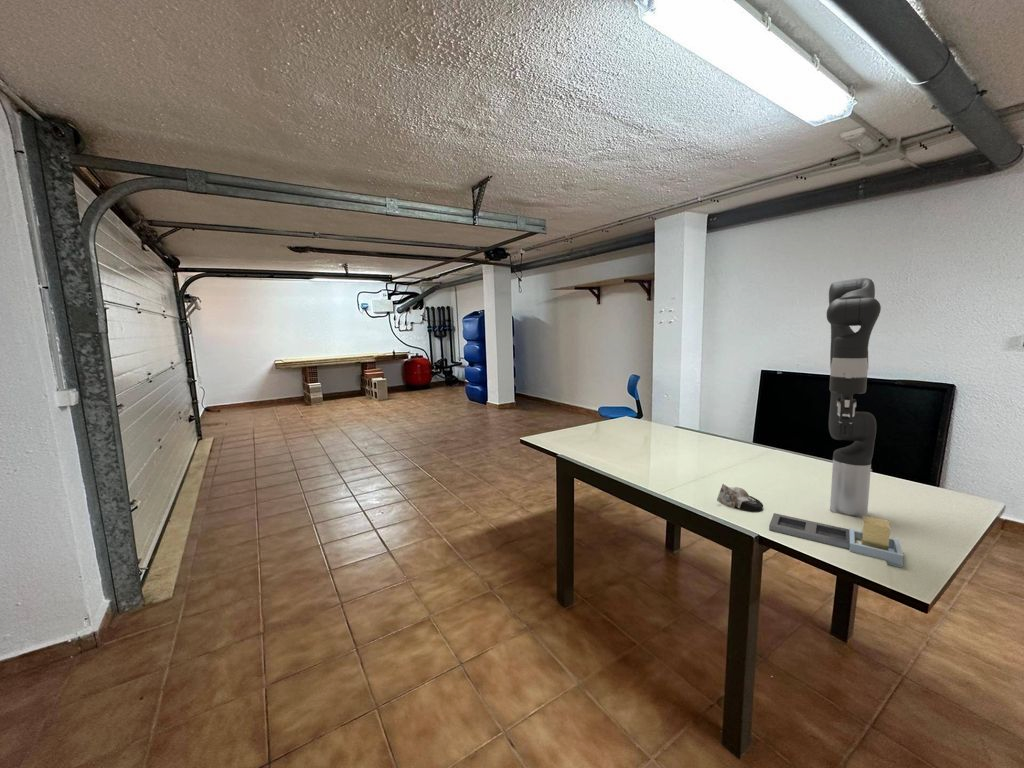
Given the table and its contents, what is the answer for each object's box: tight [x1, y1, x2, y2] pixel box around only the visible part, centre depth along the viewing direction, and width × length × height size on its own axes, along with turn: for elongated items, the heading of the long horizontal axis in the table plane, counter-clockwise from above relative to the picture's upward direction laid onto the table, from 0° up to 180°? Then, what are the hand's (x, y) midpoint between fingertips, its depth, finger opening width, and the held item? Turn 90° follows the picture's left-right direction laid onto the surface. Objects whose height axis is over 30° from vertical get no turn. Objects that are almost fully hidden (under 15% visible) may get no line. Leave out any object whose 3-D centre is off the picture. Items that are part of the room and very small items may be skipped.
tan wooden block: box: [860, 515, 891, 551], centre depth 104 cm, size 5×5×8 cm
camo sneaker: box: [716, 483, 764, 513], centre depth 133 cm, size 7×11×10 cm
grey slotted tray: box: [768, 512, 850, 550], centre depth 114 cm, size 10×18×2 cm, turn 50°
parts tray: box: [848, 528, 904, 568], centre depth 104 cm, size 10×10×3 cm
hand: (844, 433), depth 107 cm, fingers open, 8 cm apart
